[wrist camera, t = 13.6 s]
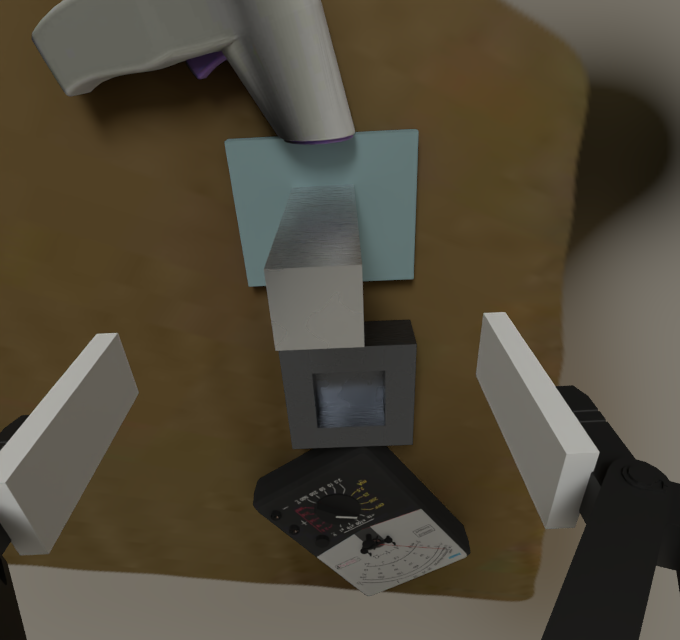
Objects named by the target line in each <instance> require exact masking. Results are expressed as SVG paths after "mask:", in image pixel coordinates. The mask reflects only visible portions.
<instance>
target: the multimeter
mask: <svg viewBox="0 0 680 640" xmlns="http://www.w3.org/2000/svg"><path fill="white" fill-rule="evenodd" d="M253 506H254V507H255V509H256V510H257V511H258V512H259V513H260V514H261V515H263V516H264V517H265V518H267V519H268V520H269V521H271V522H272V523H273V524H274V525H276V526H277V527H278V528H280V529H281V530H282V531H283V532H285V533H286V534H287V535H289V536H290V537H291V538H293V539H294V540H295V541H296V542H298V543H299V544H300V545H302V546H303V547H304V548H305V549H307V550H308V551H309V552H311V553H312V554H313V555H314V556H316V557H317V558H318V559H320V560H321V561H322V562H324V563H325V564H326V565H327V566H329V567H330V568H331V569H333V570H334V571H335V572H336V573H338V574H339V575H340V576H342V577H343V578H344V579H346V580H347V581H348V582H349V583H351V584H352V585H353V586H355V587H356V588H357V589H358V590H360V591H361V592H362V593H364V594H365V595H367V596H372V595H375V594H377V593H380V592H382V591H384V590H387V589H389V588H392V587H394V586H397V585H399V584H402V583H404V582H407V581H409V580H411V579H414V578H416V577H419V576H421V575H424V574H426V573H429V572H431V571H433V570H436V569H438V568H441V567H443V566H446V565H448V564H451V563H453V562H456V561H458V560H460V559H463V558H465V557H466V556H468V555H469V554H470V547H469V541H468V538H467V535H466V532H465V529H464V526H463V525H462V524H461V523H460V522H459V521H458V519H457V518H456V517H455V516H454V515H453V514H452V513H451V512H450V511H449V510H448V509H447V508H446V507H445V506H444V505H443V504H442V503H441V502H440V501H439V500H438V499H437V498H436V497H435V496H434V495H433V494H432V493H431V492H430V491H429V490H428V489H427V488H426V486H425V485H424V484H423V483H422V482H421V481H420V480H419V479H418V478H417V477H416V476H415V475H414V474H413V473H412V472H411V471H410V470H409V469H408V468H407V467H406V466H405V465H404V464H403V463H402V462H401V461H400V460H399V459H398V458H397V457H396V456H395V455H394V453H393V452H392V451H391V450H390V449H389V448H388V447H387V446H361V447H334V448H314V449H312V450H310V451H308V452H307V453H305V454H303V455H301V456H299V457H298V458H296V459H294V460H292V461H290V462H289V463H287V464H285V465H283V466H281V467H280V468H278V469H276V470H274V471H272V472H271V473H269V474H267V475H265V476H263V477H262V478H260V479H259V480H258V482H257V485H256V488H255V492H254V501H253Z"/></svg>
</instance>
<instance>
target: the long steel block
mask: <svg viewBox="0 0 680 640" xmlns="http://www.w3.org/2000/svg"><path fill="white" fill-rule="evenodd" d="M264 275H265V282H266V288H267V295H268V302H269V309H270V316H271V322H272V329H273V336H274V343H275V350H276V351H282V350H306V349H329V348H353V347H364V315H363V280H362V259H361V249H360V240H359V230H358V220H357V210H356V201H355V191H354V184H348V185H328V186H309V187H292V190H291V193H290V196H289V198H288V201H287V204H286V207H285V210H284V213H283V216H282V219H281V221H280V224H279V227H278V230H277V233H276V236H275V239H274V241H273V244H272V247H271V250H270V253H269V256H268V259H267V261H266V264H265V267H264Z"/></svg>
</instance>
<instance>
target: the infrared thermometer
mask: <svg viewBox="0 0 680 640" xmlns="http://www.w3.org/2000/svg"><path fill="white" fill-rule="evenodd" d="M32 40H33V42H34V44H35V46H36V47H37V49H38V51H39V52H40V54H41V56H42V57H43V59H44V61H45V62H46V64H47V66H48V67H49V69H50V70H51V72H52V74H53V75H54V77H55V78H56V80H57V82H58V83H59V85H60V86H61V88H62V89H63V91H64V92H65V94H66V95H68V96H75V95H80V94H85V93H89V92H91V91H92V90H93V89H94V88H95V87H97V86H98V85H99V84H100V83H102V82H104V81H106V80H109V79H111V78H113V77H116V76H121V75H127V74H133V73H140V72H148V71H154V70H159V69H163V68H166V67H169V66H172V65H174V64H177V63H179V62H183V61H186V64H187V66H188V67H189V69H190V70H191V72H192V73H193V74H194V76H195V77H196V78H197V79H204V78H206V77H207V76H208V75H209V74H210V73H211V72H212V71H213V70H214V69H215V68H216V67H217V66H218V65H219V64H221V63H222V62H224V61H225V60H228V62H229V63H230V65H231V66H232V68H233V69H234V71H235V72H236V74H237V75H238V77H239V78H240V80H241V81H242V83H243V84H244V86H245V87H246V89H247V90H248V92H249V93H250V95H251V96H252V98H253V99H254V101H255V102H256V104H257V105H258V107H259V108H260V110H261V111H262V113H263V114H264V116H265V117H266V119H267V120H268V122H269V123H270V125H271V126H272V128H273V129H274V131H275V132H276V134H277V135H278V137H279V138H281V139H284V141H285V142H286V143H291V144H302V145H313V144H328V143H336V142H342V141H346V140H349V139H351V138H352V137H353V134H354V133H355V129H354V125H353V121H352V117H351V114H350V110H349V106H348V102H347V98H346V95H345V91H344V87H343V83H342V79H341V76H340V72H339V68H338V64H337V60H336V56H335V53H334V49H333V45H332V41H331V37H330V34H329V30H328V26H327V22H326V18H325V14H324V10H323V7H322V3H321V0H63V1H62V2H61V3H59V4H58V5H56V6H55V7H54V8H53V9H52V10H51V11H50V12H49V13H48V14H47V15H46V16H45V17H44V18H43V19H42V20H41V21H40V22H39V24H38V25H37V26H36V28H35V29H34V31H33V33H32Z"/></svg>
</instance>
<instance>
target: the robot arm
mask: <svg viewBox="0 0 680 640" xmlns="http://www.w3.org/2000/svg"><path fill="white" fill-rule="evenodd" d="M476 376H477V379H478V381H479V383H480V385H481V387H482V390H483V392H484V394H485V396H486V398H487V401H488V403H489V405H490V407H491V409H492V412H493V414H494V416H495V418H496V421H497V423H498V425H499V427H500V429H501V432H502V434H503V436H504V438H505V440H506V443H507V445H508V447H509V449H510V451H511V454H512V456H513V458H514V460H515V462H516V465H517V467H518V469H519V471H520V473H521V476H522V478H523V480H524V482H525V485H526V487H527V489H528V491H529V493H530V496H531V498H532V500H533V502H534V504H535V507H536V509H537V511H538V513H539V515H540V518H541V520H542V522H543V524H544V526H545V529H557V528H574V527H575V526H576V522H577V520H578V517H579V514H581V515H582V517H583V519H584V521H585V523H586V527H585V530H584V532H583V534H582V537H581V539H580V542H579V545H578V547H577V550H576V552H575V555H574V557H573V560H572V562H571V565H570V568H569V570H568V573H567V576H566V578H565V580H564V583H563V585H562V588H561V590H560V593H559V596H558V598H557V601H556V603H555V606H554V608H553V611H552V613H551V616H550V618H549V621H548V624H547V626H546V629H545V631H544V634H543V636H542V639H541V640H639V636H640V632H641V627H642V623H643V619H644V614H645V610H646V606H647V602H648V597H649V593H650V589H651V585H652V580H653V576H654V571H655V567H656V566H660V567H664V568H668V569H672V570H676V571H677V578H678V585H679V591H680V484H679V483H675V482H671V481H669V480H668V478H667V477H666V475H664V474H663V473H662V472H661V471H660V470H659V469H657V468H656V467H654V466H652V465H650V464H648V463H646V462H643V461H640V460H636V459H635V458H634V456H633V455H632V454H631V452H630V451H629V450H628V448H627V447H626V446H625V444H624V443H623V442H622V440H621V439H620V438H619V436H618V435H617V434H616V433H615V431H614V430H613V428H612V427H611V426H610V424H609V423H608V422H606V420H605V418H604V416H603V415H602V414H601V412H600V411H598V408H597V407H596V406H595V404H594V403H593V402H592V400H591V399H590V398H589V397H588V396H587V395H586V394H584V393H583V392H582V391H580V390H579V389H577V388H576V387H575V386H555V385H554V384H553V382H552V381H551V379H550V378H549V376H548V375H547V373H546V372H545V371H544V369H543V368H542V366H541V365H540V363H539V362H538V360H537V359H536V357H535V356H534V354H533V353H532V351H531V350H530V348H529V347H528V345H527V344H526V342H525V341H524V339H523V338H522V336H521V335H520V333H519V332H518V331H517V329H516V328H515V326H514V325H513V323H512V322H511V320H510V319H509V317H508V316H507V314H506V313H505V312H497V313H484V314H483V322H482V330H481V338H480V346H479V354H478V362H477V370H476ZM138 393H139V392H138V389H137V386H136V383H135V381H134V378H133V375H132V372H131V369H130V366H129V363H128V360H127V358H126V355H125V352H124V349H123V346H122V343H121V340H120V338H119V335H118V333H107V334H96V336H95V337H94V338H93V339H92V340H91V342H90V343H89V344H88V345H87V346H86V348H85V349H84V350H83V351H82V352H81V354H80V355H79V356H78V357H77V359H76V360H75V361H74V362H73V363H72V365H71V366H70V367H69V368H68V369H67V371H66V372H65V373H64V374H63V376H62V377H61V378H60V379H59V380H58V382H57V383H56V384H55V385H54V386H53V388H52V389H51V390H50V391H49V392H48V394H47V395H46V396H45V397H44V399H43V400H42V401H41V402H40V403H39V405H38V406H37V407H36V408H35V409H34V411H33V412H32V413H31V414H30V415H22V416H20V417H19V418H18V419H16V420H15V421H13V422H12V423H11V424H9V425H8V426H7V427H5V428H4V429H3V430H2V432H1V433H0V640H27V639H26V635H25V631H24V627H23V623H22V619H21V615H20V611H19V607H18V603H17V600H16V595H15V591H14V588H13V583H12V580H11V576H10V572H9V568H8V564H7V562H6V560H5V559H4V557H3V556H2V554H3V553H4V551H5V550H6V548H7V547H8V545H9V543H10V542H12V544H13V545H14V547H15V548H16V550H17V551H18V553H19V554H20V555H35V554H49V552H50V551H51V549H52V547H53V545H54V544H55V542H56V540H57V538H58V536H59V535H60V533H61V531H62V529H63V527H64V526H65V524H66V522H67V520H68V519H69V517H70V515H71V513H72V511H73V510H74V508H75V506H76V504H77V502H78V501H79V499H80V497H81V495H82V493H83V492H84V490H85V488H86V486H87V485H88V483H89V481H90V479H91V477H92V476H93V474H94V472H95V470H96V468H97V467H98V465H99V463H100V461H101V460H102V458H103V456H104V454H105V452H106V451H107V449H108V447H109V445H110V443H111V442H112V440H113V438H114V436H115V435H116V433H117V431H118V429H119V427H120V426H121V424H122V422H123V420H124V418H125V417H126V415H127V413H128V411H129V409H130V408H131V406H132V404H133V402H134V401H135V399H136V397H137V395H138Z"/></svg>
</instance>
